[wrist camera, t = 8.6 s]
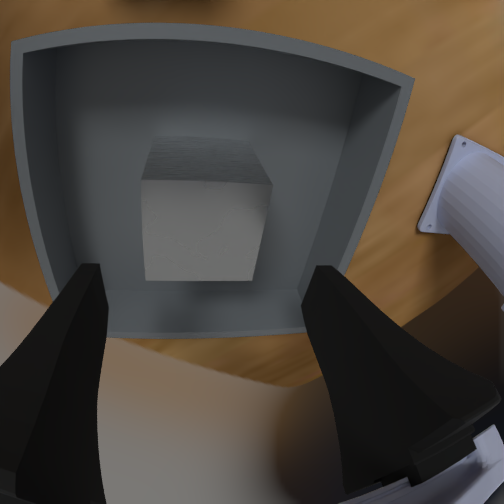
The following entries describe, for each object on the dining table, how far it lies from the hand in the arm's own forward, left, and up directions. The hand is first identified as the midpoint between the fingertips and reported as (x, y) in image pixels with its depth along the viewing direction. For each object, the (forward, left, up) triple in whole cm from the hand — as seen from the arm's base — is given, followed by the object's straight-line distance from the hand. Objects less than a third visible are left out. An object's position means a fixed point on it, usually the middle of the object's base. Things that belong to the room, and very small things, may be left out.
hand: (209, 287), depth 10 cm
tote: (0, 0, -8) cm, 8 cm away
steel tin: (0, 0, -7) cm, 7 cm away
